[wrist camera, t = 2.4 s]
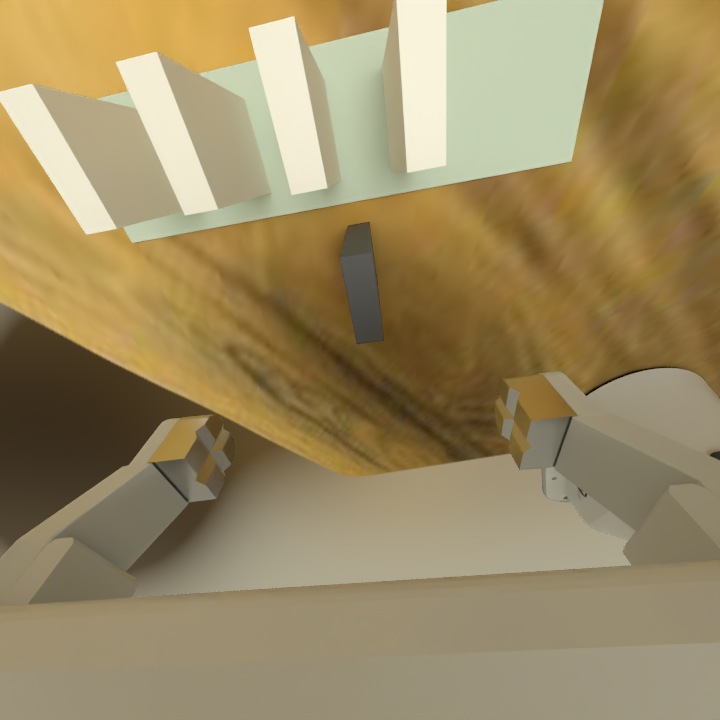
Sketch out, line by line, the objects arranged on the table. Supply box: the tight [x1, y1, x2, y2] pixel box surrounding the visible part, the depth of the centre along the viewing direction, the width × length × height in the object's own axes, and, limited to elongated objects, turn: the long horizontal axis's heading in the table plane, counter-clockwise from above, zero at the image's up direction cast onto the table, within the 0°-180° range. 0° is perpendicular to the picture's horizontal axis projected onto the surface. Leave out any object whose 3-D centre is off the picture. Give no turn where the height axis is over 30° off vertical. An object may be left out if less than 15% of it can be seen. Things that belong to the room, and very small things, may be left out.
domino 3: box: [249, 16, 341, 195], centre depth 15 cm, size 5×2×9 cm, turn 9°
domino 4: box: [382, 0, 446, 173], centre depth 14 cm, size 5×2×9 cm, turn 9°
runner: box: [98, 0, 604, 243], centre depth 19 cm, size 8×32×1 cm, turn 99°
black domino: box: [340, 222, 384, 344], centre depth 19 cm, size 5×2×9 cm, turn 9°
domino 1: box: [0, 84, 183, 235], centre depth 16 cm, size 5×2×9 cm, turn 9°
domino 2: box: [116, 52, 272, 216], centre depth 15 cm, size 5×2×9 cm, turn 9°
